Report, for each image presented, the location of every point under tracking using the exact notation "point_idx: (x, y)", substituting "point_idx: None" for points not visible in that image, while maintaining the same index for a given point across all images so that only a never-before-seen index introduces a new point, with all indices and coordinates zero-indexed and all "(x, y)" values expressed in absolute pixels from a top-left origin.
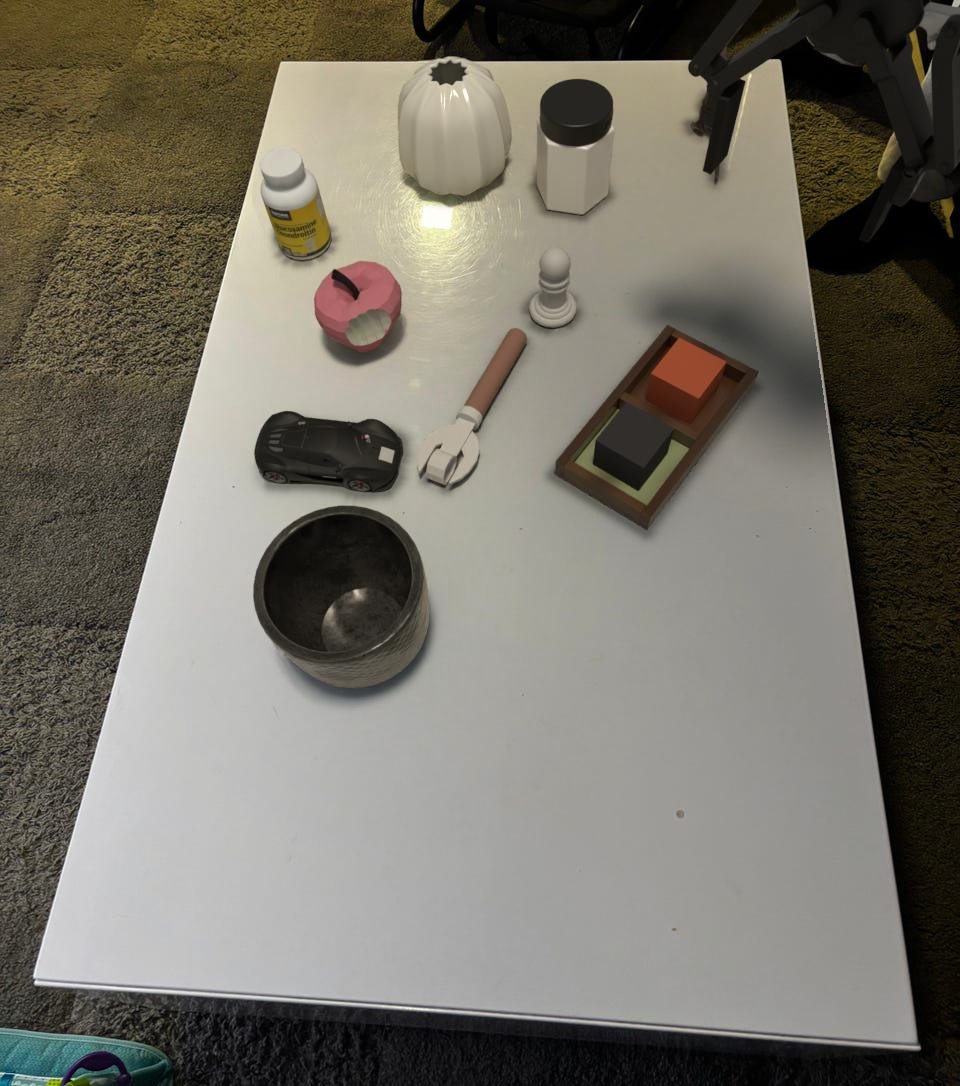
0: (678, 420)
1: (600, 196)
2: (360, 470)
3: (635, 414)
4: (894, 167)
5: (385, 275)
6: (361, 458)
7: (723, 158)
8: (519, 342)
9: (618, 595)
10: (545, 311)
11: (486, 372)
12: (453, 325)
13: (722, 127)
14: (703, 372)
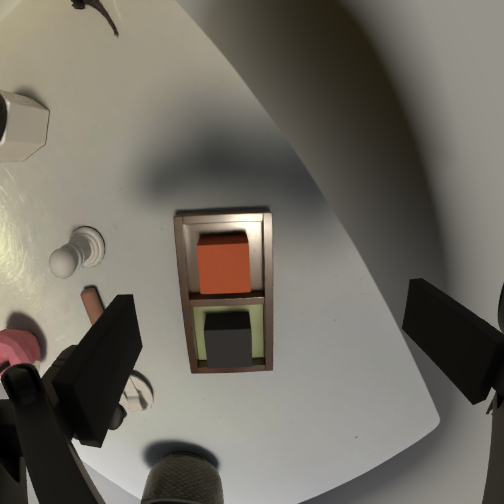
0: None
1: (45, 121)
2: (111, 426)
3: (217, 335)
4: (476, 403)
5: (6, 350)
6: None
7: (134, 311)
8: (94, 302)
9: (280, 396)
10: (85, 262)
11: None
12: (51, 302)
13: (116, 398)
14: (238, 266)
